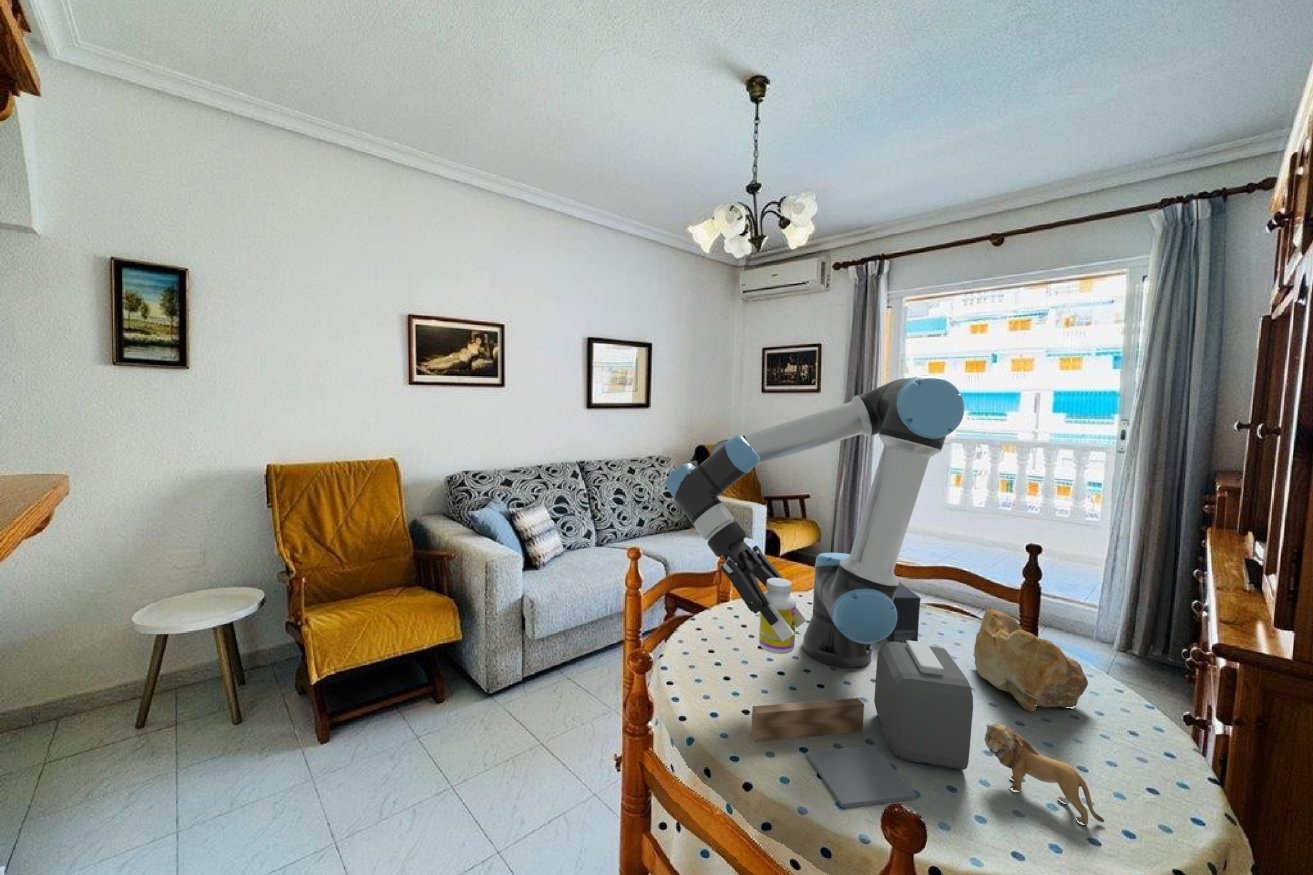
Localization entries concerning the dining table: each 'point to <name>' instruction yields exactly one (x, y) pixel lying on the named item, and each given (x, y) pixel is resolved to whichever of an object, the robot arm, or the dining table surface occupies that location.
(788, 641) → the supplement bottle
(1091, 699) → the dining table surface
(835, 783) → the rubber mat
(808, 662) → the dining table surface
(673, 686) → the dining table surface
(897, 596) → the small box
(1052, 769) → the lion figurine
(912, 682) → the alarm clock
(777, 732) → the walnut rail
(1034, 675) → the rough brown rock
